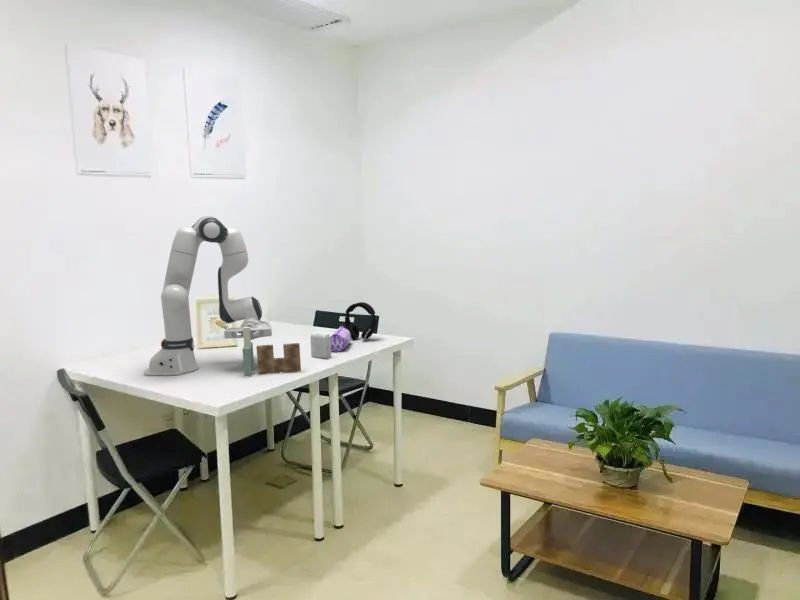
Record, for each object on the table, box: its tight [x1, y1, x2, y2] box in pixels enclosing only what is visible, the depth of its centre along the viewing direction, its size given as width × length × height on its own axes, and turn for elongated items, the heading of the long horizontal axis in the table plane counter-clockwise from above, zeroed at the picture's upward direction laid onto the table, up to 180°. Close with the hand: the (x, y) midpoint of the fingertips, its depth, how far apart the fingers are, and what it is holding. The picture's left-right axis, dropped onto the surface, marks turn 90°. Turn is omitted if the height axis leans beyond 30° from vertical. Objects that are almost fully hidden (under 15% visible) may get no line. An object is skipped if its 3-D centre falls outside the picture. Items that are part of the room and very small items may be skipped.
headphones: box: [344, 301, 377, 341], centre depth 325 cm, size 18×8×20 cm, turn 61°
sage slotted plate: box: [242, 327, 255, 377], centre depth 266 cm, size 3×12×20 cm, turn 8°
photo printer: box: [310, 330, 332, 359], centre depth 291 cm, size 10×4×12 cm, turn 56°
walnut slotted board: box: [256, 342, 302, 375], centre depth 266 cm, size 18×2×12 cm, turn 98°
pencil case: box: [330, 325, 352, 353], centre depth 310 cm, size 22×9×10 cm, turn 178°
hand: (246, 335), depth 264 cm, fingers open, 5 cm apart
